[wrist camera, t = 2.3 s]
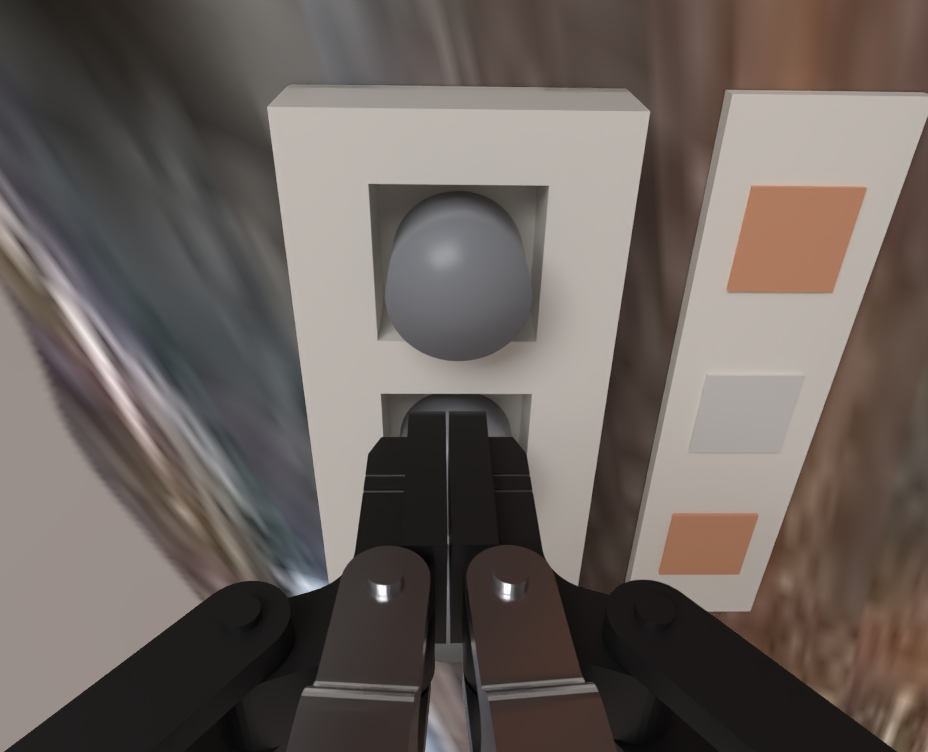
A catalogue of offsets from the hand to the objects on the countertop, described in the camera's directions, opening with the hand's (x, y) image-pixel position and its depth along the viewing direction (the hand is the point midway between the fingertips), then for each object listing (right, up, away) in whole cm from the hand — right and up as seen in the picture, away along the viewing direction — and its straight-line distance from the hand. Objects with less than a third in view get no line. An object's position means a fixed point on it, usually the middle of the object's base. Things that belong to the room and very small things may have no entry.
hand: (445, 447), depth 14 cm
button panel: (0, 0, +13) cm, 13 cm away
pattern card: (+11, 0, +14) cm, 17 cm away
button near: (0, +5, +8) cm, 9 cm away
